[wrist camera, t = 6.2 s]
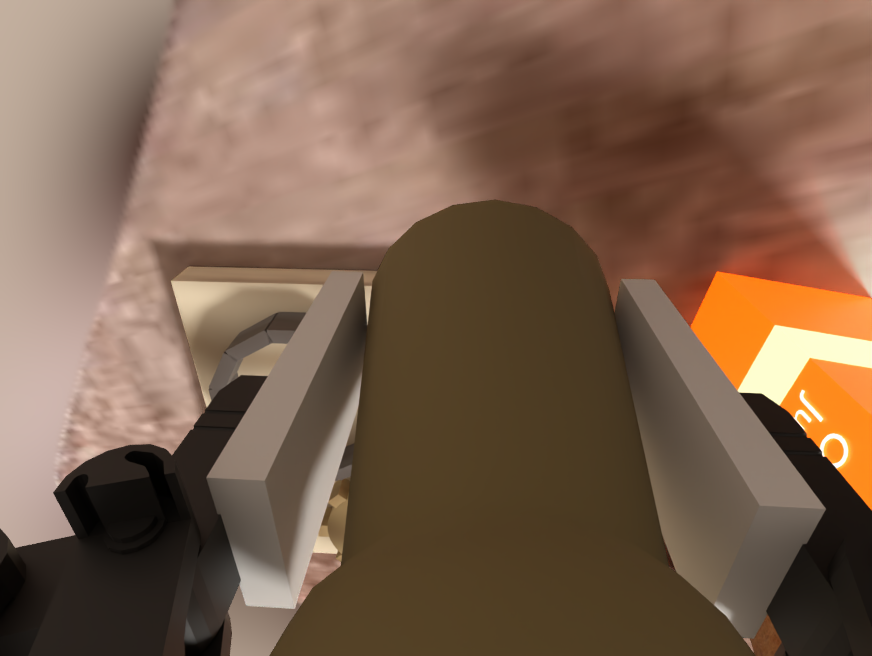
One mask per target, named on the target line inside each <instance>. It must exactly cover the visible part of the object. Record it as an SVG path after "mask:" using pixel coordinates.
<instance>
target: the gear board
mask: <svg viewBox="0 0 872 656" xmlns="http://www.w3.org/2000/svg"><path fill="white" fill-rule="evenodd" d="M332 271H347V272H363V275H364V288H365V301H366V314H367V325H368V316H369V307H370V298H371V289H372V281H373V279H374V277H375V275H376V273H377V271H364V270H321V269H278V268H235V267H192V266H189V267H187V268H186V269H185V270H184V271H182V272H181V273H180V274H179V275H177V276H176V277H175V278H174V279H173V280H171V283H172V287H173V290H174V294H175V298H176V301H177V305H178V308H179V312H180V315H181V319H182V322H183V326H184V329H185V333H186V336H187V340H188V344H189V347H190V351H191V354H192V358H193V361H194V365H195V368H196V372H197V375H198V379H199V383H200V386H201V390H202V393H203V397H204V400H205V404H206V407H208V405H209V404H210V402H211V401H212V400H213V398H214V397H215V396H216V394H217V393H218V391H219V390H221V389H222V388H224V387H225V386H226V385H228V384H229V383H231V382H232V381H233V380H235V379H236V378H238V377H239V376H240V375H255V376H268V375H269V374H270V372H271V370H272V369H273V367H274V365H275V364H276V362H277V360H278V359H279V357H280V356H281V354H282V352H283V351H284V349H285V347H286V346H287V344H288V342H289V341H290V339H291V338H292V336H293V334H294V333H295V331H296V329H297V328H298V326H299V324H300V323H301V321H302V319H303V318H304V316H305V315H306V313H307V311H308V310H309V308H310V306H311V305H312V303H313V301H314V300H315V298H316V296H317V295H318V293H319V292H320V290H321V288H322V287H323V285H324V283H325V282H326V280H327V278H328V277H329V275H330V273H331V272H332ZM358 406H359V405H358ZM357 415H358V409H357V412H356V415H355V418H354V421H353V425H352V428H351V431H350V434H349V437H348V441H347V444H346V447H345V450H344V453H343V456H342V460H341V463H340V466H339V469H338V472H337V476H336V479H335V482H334V485H333V488H332V492H331V495H330V498H329V501H328V504H327V508H326V511H325V514H324V517H323V520H322V523H321V527H320V530H319V533H318V536H317V539H316V543H315V546H314V549H313V552H315V553H334V554H337V555H336V559H337V560H339V561H340V562H341V560H342V551H343V542H344V533H345V524H346V515H347V506H348V496H349V487H350V478H351V469H352V460H353V451H354V442H355V433H356V424H357Z"/></svg>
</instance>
